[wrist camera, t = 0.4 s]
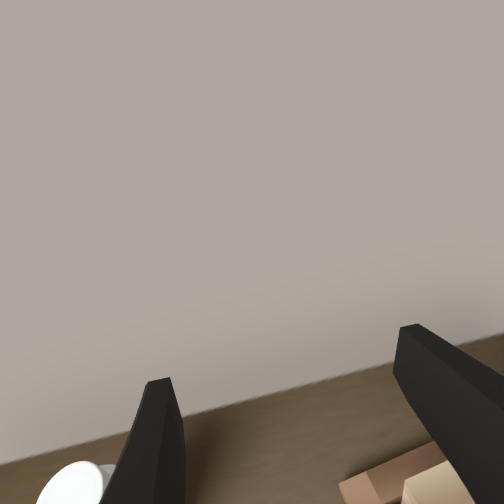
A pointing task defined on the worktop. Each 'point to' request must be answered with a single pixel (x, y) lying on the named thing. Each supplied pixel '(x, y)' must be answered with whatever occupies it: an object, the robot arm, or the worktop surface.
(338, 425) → the worktop surface
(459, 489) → the maple part
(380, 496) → the pocket block
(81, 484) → the supplement bottle
